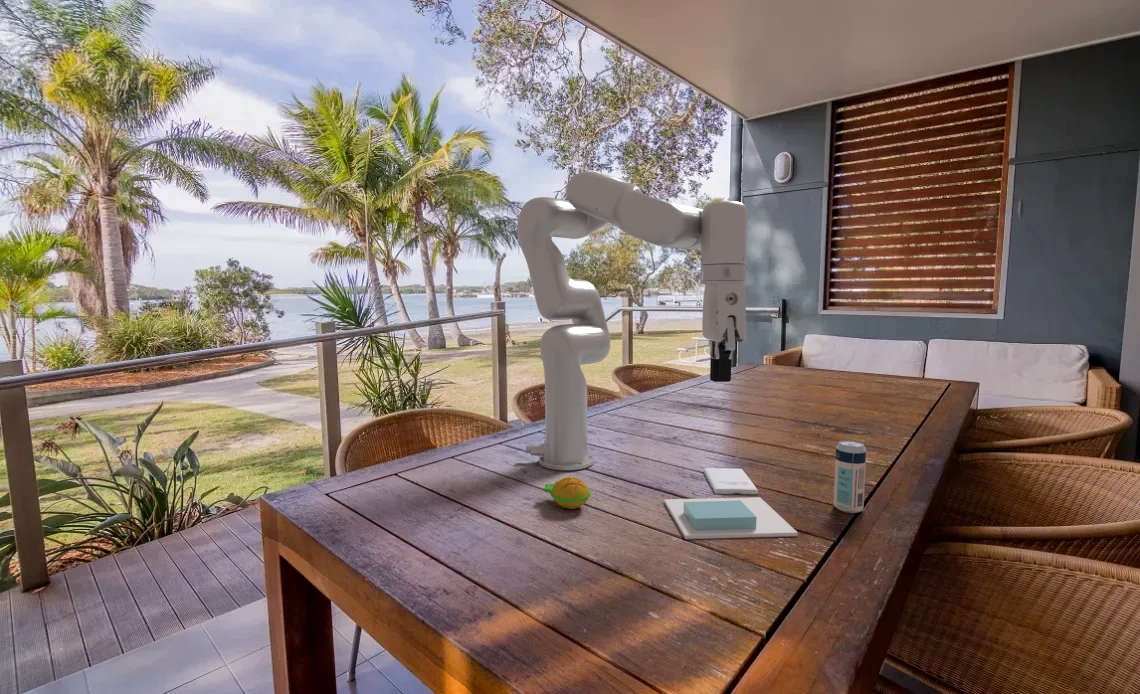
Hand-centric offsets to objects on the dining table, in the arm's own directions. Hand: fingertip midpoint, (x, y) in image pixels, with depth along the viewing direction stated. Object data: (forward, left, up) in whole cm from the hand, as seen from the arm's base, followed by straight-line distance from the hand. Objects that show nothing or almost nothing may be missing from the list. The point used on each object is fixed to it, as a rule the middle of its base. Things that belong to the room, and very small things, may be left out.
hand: (720, 380), depth 95 cm
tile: (-2, -3, -22) cm, 22 cm away
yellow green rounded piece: (-27, +3, -23) cm, 36 cm away
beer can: (+23, -2, -23) cm, 33 cm away
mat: (0, -4, -23) cm, 24 cm away
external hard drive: (+7, +13, -24) cm, 28 cm away
